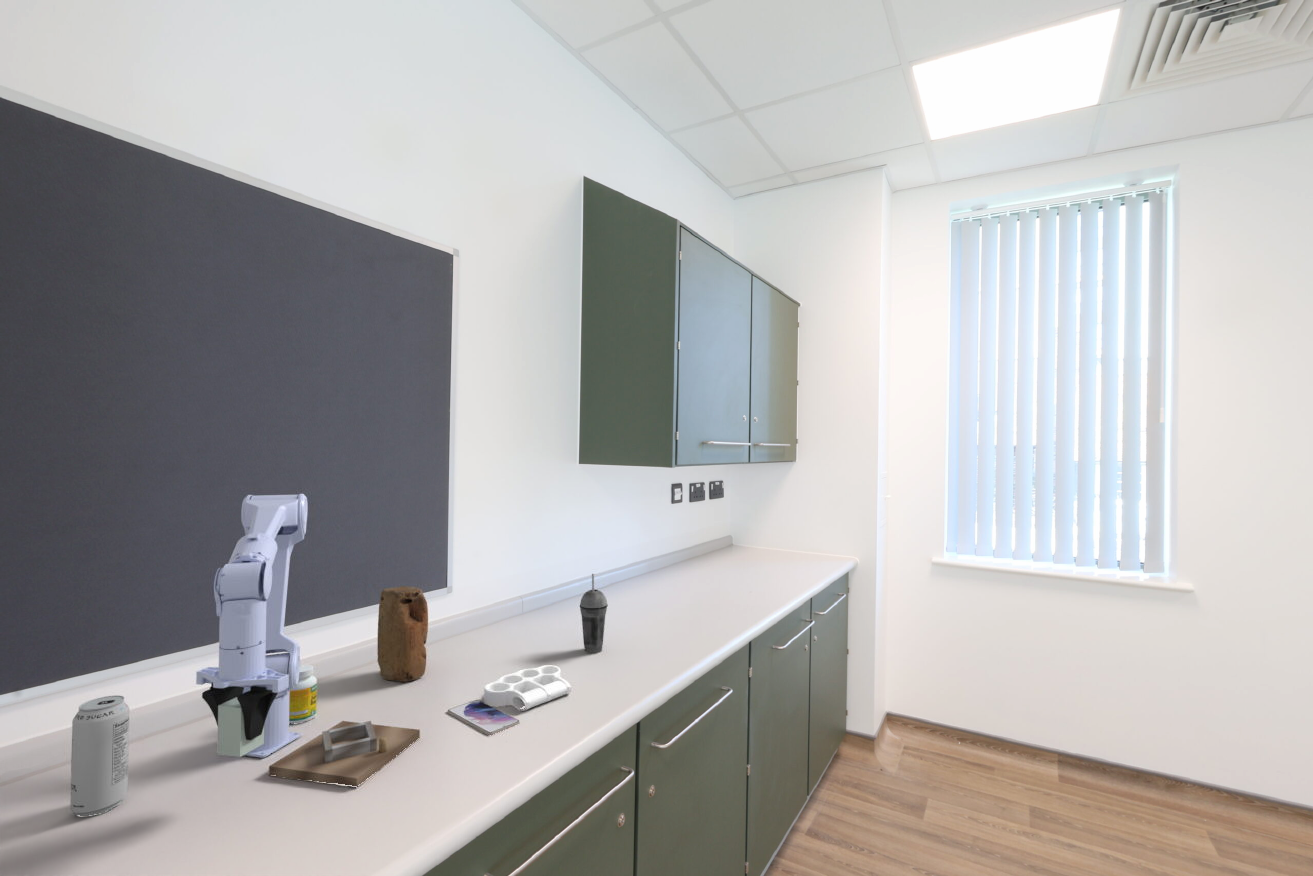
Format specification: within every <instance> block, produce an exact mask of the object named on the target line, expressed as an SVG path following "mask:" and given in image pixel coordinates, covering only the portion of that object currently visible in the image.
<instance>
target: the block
mask: <svg viewBox="0 0 1313 876" xmlns="http://www.w3.org/2000/svg"><path fill="white" fill-rule="evenodd" d="M377 618H378V619H377V641H376V642H377V650H376V651H377V653H376V654H377V664H378V666H379V669H380V671H379V674H380V677H382V678H383V679H386V681H387V680H388V681H391V682H395V681H397V682H404V683H406V682H412V681H415V680H418V679H420V678H422V677H423V676H424V674H425V673H426V668H427V648H426V647H425V646H426V645H425V644H426V643H427V638H428V632H429V630H428V629H429V609H428V602H427V600H426V597H425V594H424V592H423V591H422V589H421V588H418V587H414V586H408V585H402V586H399V587H398V586H397V587H389V588H384V589H382V590H381V592H380V596H379V605H378V617H377Z"/></svg>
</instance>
